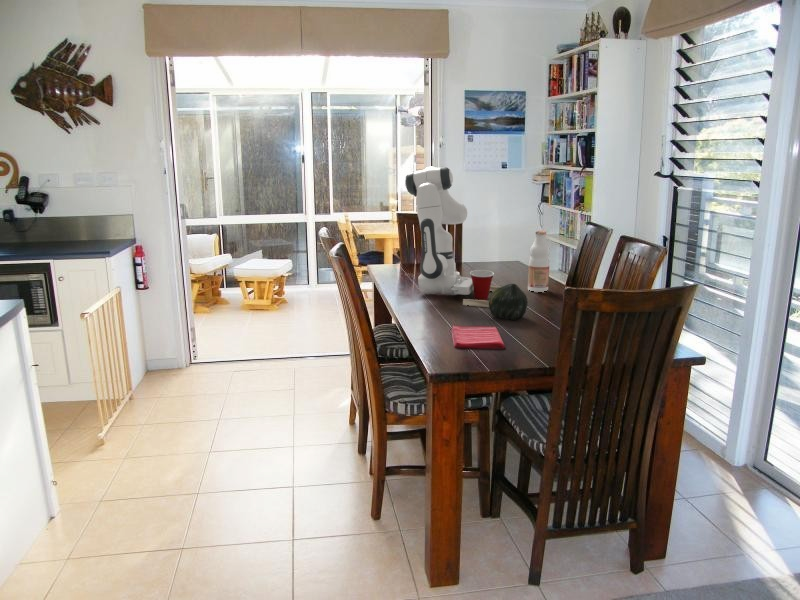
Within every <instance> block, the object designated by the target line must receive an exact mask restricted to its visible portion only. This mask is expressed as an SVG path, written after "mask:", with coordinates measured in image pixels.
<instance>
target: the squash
mask: <svg viewBox="0 0 800 600" xmlns="http://www.w3.org/2000/svg"><path fill="white" fill-rule="evenodd" d="M499 287H500V288H498V289H496V290H495V291H494V292H491V295H490V298H488V301H489V307H488V309H489V311H490V314H491V315H492V317H495V318H497V319H498V318H500V319H503V318H504V319H506V320H511V321H516V320H520V319H522V317H524V316H525V314H526V312H527V308H528V306H529V305H528V303H529V302H528V297H527V295H526V293H524V291H523V290H522V289H521V288H520V287H519V286H518V285H517V284H516V283H509V284H505V285H503V286H499Z"/></svg>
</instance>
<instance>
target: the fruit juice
mask: <svg viewBox="0 0 800 600" xmlns="http://www.w3.org/2000/svg"><path fill="white" fill-rule="evenodd" d="M546 236H547V231H543V230H535V238H534V241H533V243H532V245H531V246H530V247H529V248H530V249H529V254H530V258H529V260H528V261H529V262H528V275H527V276H528V277H527V290H528V291H529V290H530V291H529V292H531V291H534V292H533V293H538V292H542V293H545V292H544V291H547V290H548V291H549V283H550V281H549V279H550V278H549V277H550V258H549V255H550V253H551V250H550V246H549V245H548V243H547V239H546ZM548 291H547V292H548Z"/></svg>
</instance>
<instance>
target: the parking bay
mask: <svg viewBox="0 0 800 600" xmlns="http://www.w3.org/2000/svg"><path fill="white" fill-rule="evenodd" d="M500 287H501V286H496V285H495V286H494V285H491V286H490V291H492V292H491V293H493V292H494V291H495V290H496V289H498V288H500ZM467 305H469V306H470V307H480V308H481V307H482V308H483V307H484V308H489V300H486V299H485V300H478V299H468V298H463V299H462V306H467ZM469 306H468V307H469Z"/></svg>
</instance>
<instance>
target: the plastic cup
mask: <svg viewBox="0 0 800 600" xmlns="http://www.w3.org/2000/svg"><path fill="white" fill-rule="evenodd" d="M469 275H470V278H472V284H473V286H474V290H473V291H472V292H473V297H474V300H478V299H479V300H485V301H486V300H489V293H490V292H489V291H490V286H492V280H493V278H494V275H495V272H493V271H491V270H486V269H476V270H471V271H469Z"/></svg>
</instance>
